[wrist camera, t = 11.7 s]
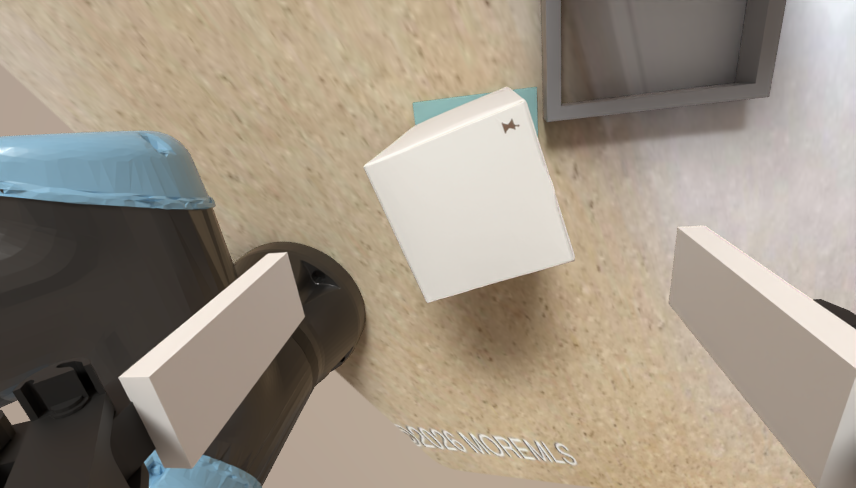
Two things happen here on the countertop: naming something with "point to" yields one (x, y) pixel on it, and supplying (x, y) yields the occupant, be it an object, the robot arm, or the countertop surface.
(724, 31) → the countertop surface
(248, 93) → the countertop surface
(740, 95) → the case
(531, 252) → the supplement box
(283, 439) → the robot arm
